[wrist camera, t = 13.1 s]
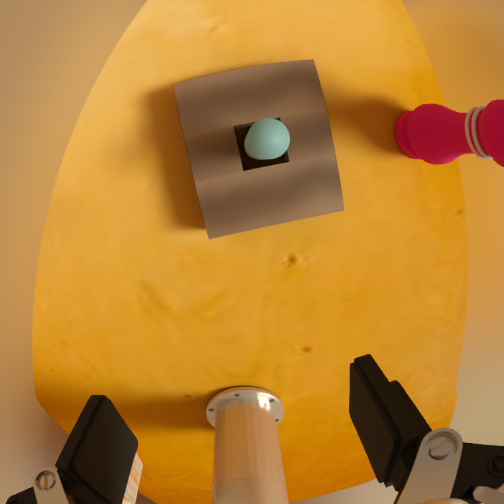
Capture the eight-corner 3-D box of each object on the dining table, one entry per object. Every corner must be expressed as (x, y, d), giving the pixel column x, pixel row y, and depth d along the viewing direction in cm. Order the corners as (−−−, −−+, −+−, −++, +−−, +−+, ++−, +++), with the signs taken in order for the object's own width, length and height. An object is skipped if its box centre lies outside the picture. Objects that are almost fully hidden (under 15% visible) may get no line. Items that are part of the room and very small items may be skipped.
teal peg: (273, 157, 30) (293, 154, 19) (246, 162, 30) (252, 162, 19) (267, 130, 29) (284, 115, 18) (240, 135, 29) (243, 122, 18)
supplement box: (114, 441, 44) (100, 488, 32) (135, 445, 45) (122, 494, 32) (125, 459, 47) (114, 503, 35) (144, 463, 47) (135, 508, 35)
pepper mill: (380, 131, 29) (513, 122, 10) (410, 97, 28) (533, 73, 9) (415, 174, 31) (542, 202, 12) (441, 139, 29) (562, 147, 11)
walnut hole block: (331, 204, 32) (344, 210, 28) (212, 229, 32) (208, 239, 28) (304, 70, 27) (313, 59, 23) (180, 93, 27) (173, 84, 23)
